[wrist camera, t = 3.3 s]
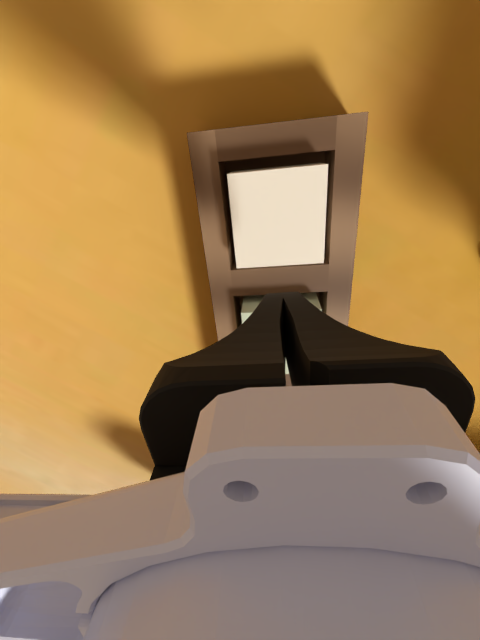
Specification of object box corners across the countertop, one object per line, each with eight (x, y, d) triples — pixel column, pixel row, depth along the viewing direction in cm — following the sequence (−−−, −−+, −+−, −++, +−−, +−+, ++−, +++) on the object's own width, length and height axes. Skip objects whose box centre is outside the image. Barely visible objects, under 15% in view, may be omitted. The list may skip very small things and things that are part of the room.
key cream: (232, 171, 15) (226, 174, 13) (319, 162, 15) (328, 164, 13) (240, 254, 17) (236, 268, 15) (316, 249, 17) (323, 263, 15)
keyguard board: (199, 136, 16) (186, 132, 14) (350, 119, 15) (368, 111, 13) (244, 470, 30) (242, 500, 27) (325, 472, 29) (331, 503, 27)
